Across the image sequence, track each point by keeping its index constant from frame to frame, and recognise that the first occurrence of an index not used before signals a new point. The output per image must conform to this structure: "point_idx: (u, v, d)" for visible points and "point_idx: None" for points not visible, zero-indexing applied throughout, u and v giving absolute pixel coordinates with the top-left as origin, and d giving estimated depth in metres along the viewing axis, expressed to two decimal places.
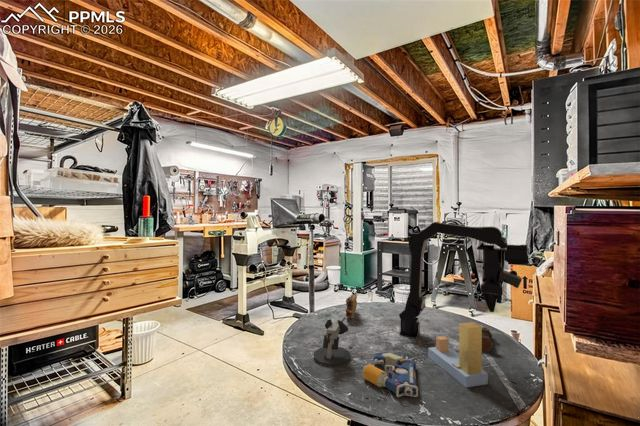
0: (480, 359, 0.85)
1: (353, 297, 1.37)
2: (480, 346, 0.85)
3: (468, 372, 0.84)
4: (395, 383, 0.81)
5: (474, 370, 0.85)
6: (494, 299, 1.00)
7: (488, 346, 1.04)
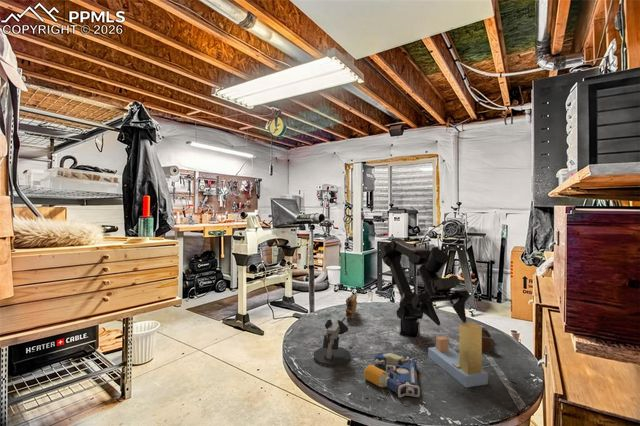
0: (480, 359, 0.85)
1: (353, 297, 1.37)
2: (480, 346, 0.85)
3: (468, 372, 0.84)
4: (397, 383, 0.81)
5: (474, 370, 0.85)
6: (430, 310, 0.96)
7: (488, 346, 1.04)
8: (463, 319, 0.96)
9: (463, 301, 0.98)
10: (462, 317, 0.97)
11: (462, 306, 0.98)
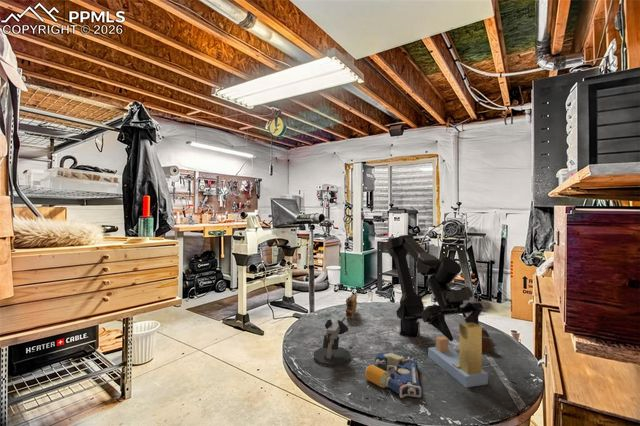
0: (480, 359, 0.85)
1: (353, 297, 1.37)
2: (480, 346, 0.85)
3: (468, 372, 0.84)
4: (398, 383, 0.80)
5: (474, 370, 0.85)
6: (441, 324, 0.90)
7: (488, 346, 1.04)
8: None
9: (477, 314, 0.92)
10: None
11: (476, 320, 0.92)
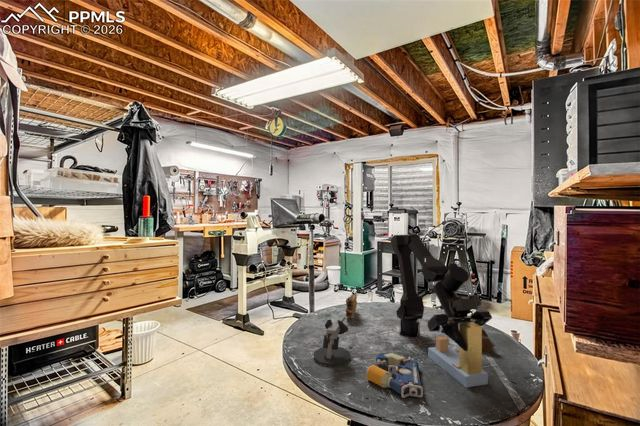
0: (480, 359, 0.85)
1: (353, 297, 1.37)
2: (480, 346, 0.85)
3: (468, 372, 0.84)
4: (400, 383, 0.80)
5: (474, 370, 0.85)
6: (455, 333, 0.87)
7: (488, 346, 1.03)
8: None
9: (478, 324, 0.89)
10: None
11: None
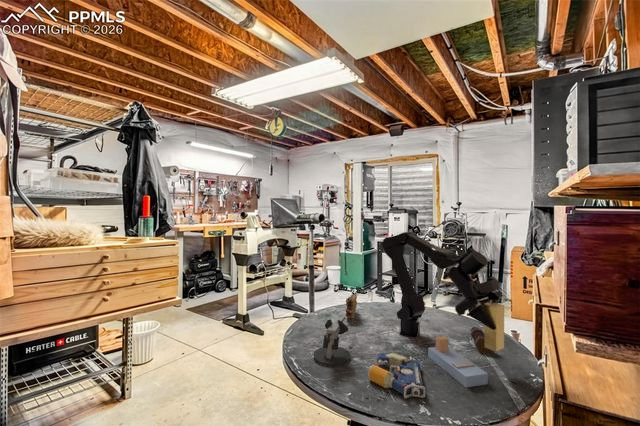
0: (503, 335, 0.92)
1: (353, 297, 1.37)
2: (503, 323, 0.92)
3: (496, 349, 0.90)
4: (402, 384, 0.80)
5: (500, 346, 0.91)
6: (483, 314, 0.91)
7: None
8: None
9: None
10: None
11: None
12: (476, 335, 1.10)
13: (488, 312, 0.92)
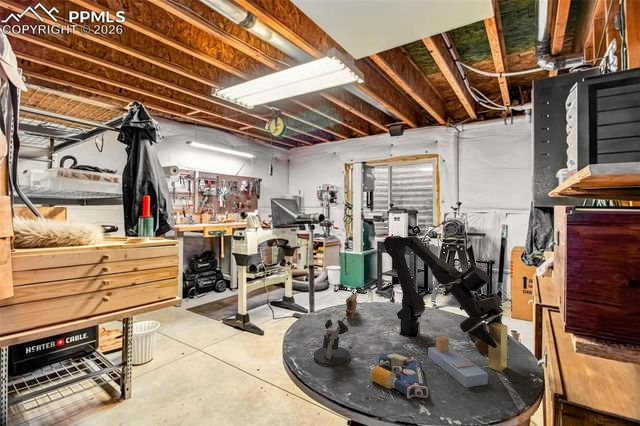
0: (506, 355, 0.94)
1: (353, 297, 1.37)
2: (506, 343, 0.94)
3: (500, 369, 0.92)
4: (405, 384, 0.80)
5: (503, 366, 0.93)
6: (484, 332, 0.92)
7: None
8: None
9: (500, 318, 0.99)
10: None
11: (501, 323, 0.98)
12: None
13: (492, 333, 0.93)
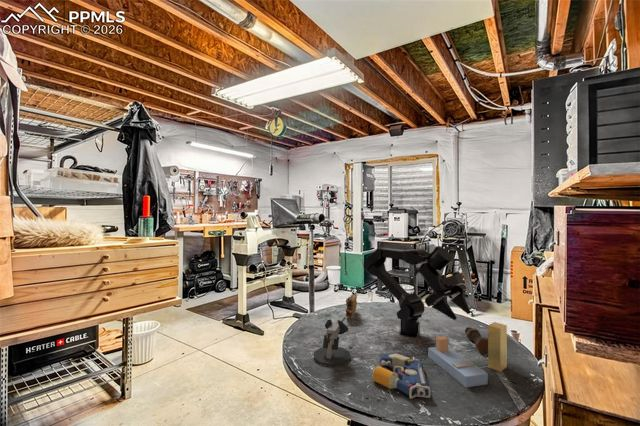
0: (506, 355, 0.94)
1: (353, 297, 1.37)
2: (506, 343, 0.94)
3: (500, 369, 0.92)
4: (407, 384, 0.80)
5: (503, 366, 0.93)
6: (445, 306, 1.01)
7: None
8: (467, 311, 1.05)
9: (464, 294, 1.08)
10: (465, 309, 1.06)
11: (464, 299, 1.07)
12: (474, 336, 1.10)
13: (492, 333, 0.93)
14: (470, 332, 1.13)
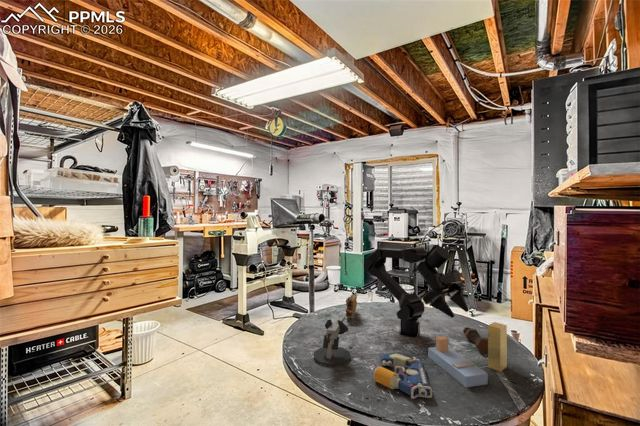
0: (506, 355, 0.94)
1: (353, 297, 1.37)
2: (506, 343, 0.94)
3: (500, 369, 0.92)
4: (409, 385, 0.80)
5: (503, 366, 0.93)
6: (443, 304, 1.01)
7: None
8: (465, 308, 1.06)
9: (462, 292, 1.08)
10: (463, 307, 1.06)
11: (462, 297, 1.08)
12: (473, 336, 1.10)
13: (492, 333, 0.93)
14: (469, 332, 1.13)
